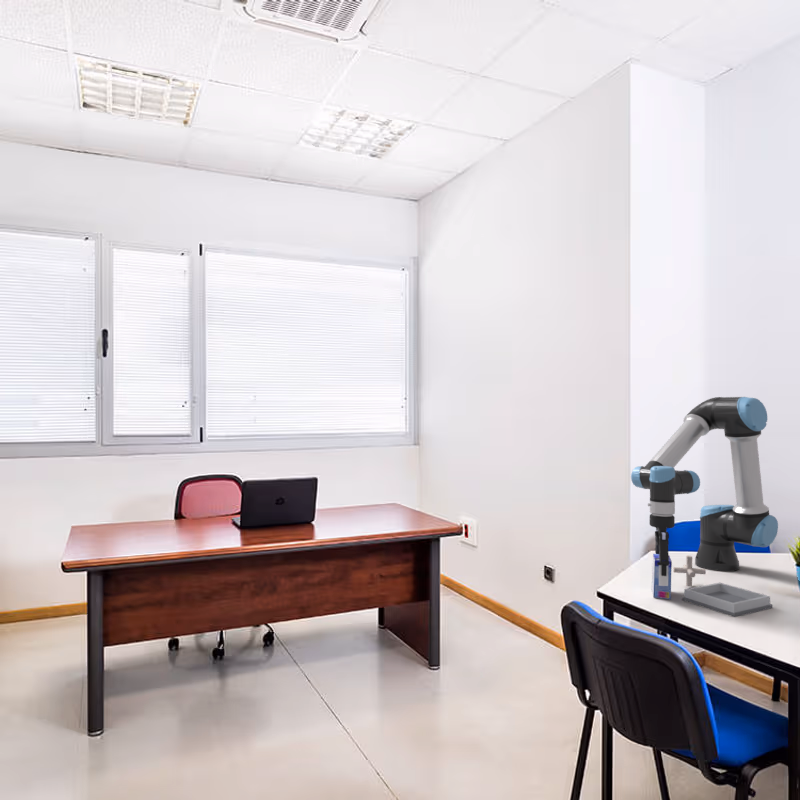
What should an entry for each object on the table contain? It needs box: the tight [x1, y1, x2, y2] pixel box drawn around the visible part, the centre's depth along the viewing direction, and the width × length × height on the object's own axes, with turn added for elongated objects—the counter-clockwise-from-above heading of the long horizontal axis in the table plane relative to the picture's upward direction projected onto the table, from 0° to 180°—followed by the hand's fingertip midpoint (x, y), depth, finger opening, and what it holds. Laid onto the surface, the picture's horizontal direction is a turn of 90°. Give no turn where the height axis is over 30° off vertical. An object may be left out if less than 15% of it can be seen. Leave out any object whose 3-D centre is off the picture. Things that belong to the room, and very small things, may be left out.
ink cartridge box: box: [651, 553, 673, 600], centre depth 214 cm, size 10×6×14 cm, turn 163°
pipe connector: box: [672, 555, 706, 587], centre depth 225 cm, size 10×10×10 cm
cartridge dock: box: [681, 582, 774, 618], centre depth 205 cm, size 18×18×4 cm
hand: (661, 580), depth 214 cm, fingers open, 13 cm apart
